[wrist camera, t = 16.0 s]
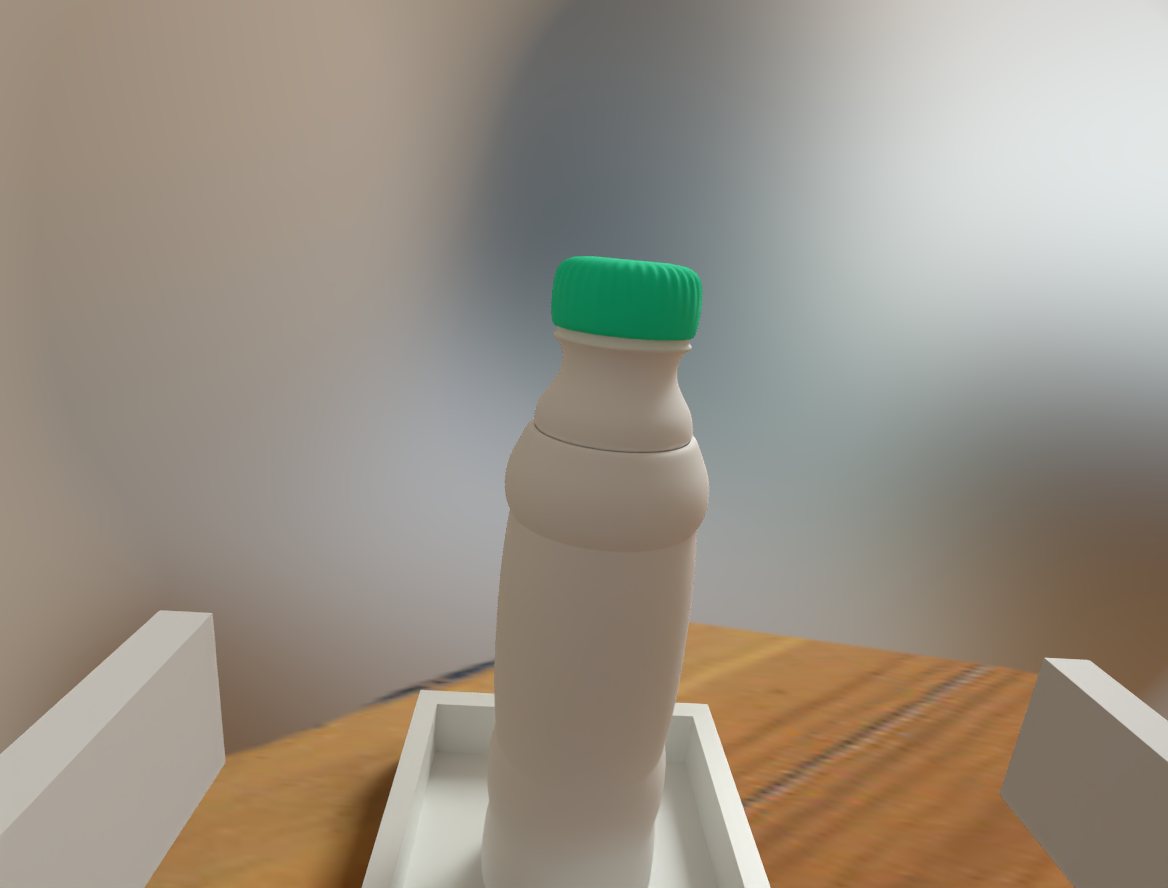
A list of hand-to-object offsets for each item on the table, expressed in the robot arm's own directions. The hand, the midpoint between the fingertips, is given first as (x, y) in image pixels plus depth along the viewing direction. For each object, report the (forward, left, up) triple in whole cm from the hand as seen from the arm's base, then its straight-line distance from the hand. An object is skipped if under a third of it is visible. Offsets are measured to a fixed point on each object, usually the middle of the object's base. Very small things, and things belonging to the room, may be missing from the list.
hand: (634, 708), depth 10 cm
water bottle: (-1, -13, -18) cm, 22 cm away
